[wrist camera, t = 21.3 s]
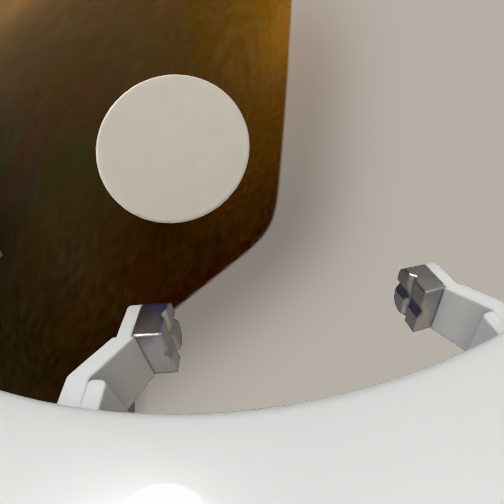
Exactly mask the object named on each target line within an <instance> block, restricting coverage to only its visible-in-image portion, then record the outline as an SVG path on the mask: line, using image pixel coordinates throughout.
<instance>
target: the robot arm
mask: <svg viewBox="0 0 504 504" xmlns="http://www.w3.org/2000/svg"><path fill="white" fill-rule="evenodd" d="M398 280H399V282H400V284H399V285H398V286H397V287H396V289H395V295H394V298H395V304H396V307H397V309H398V311H399V312H400V313H402V314H404V315H406V318H405V321H406V322H407V324H408V325H409V327H410V328H411V330H412V331H413V332H415V331H418V330H422V329H426V328H429V327H431V329H433V330H434V331H436V332H437V333H439V334H440V335H442V336H443V337H445V338H447V339H448V340H449V341H451V342H452V343H454V344H456V345H457V346H458V347H460V348H461V349H463V350H464V351H465V352H463V353H461V354H459V355H456V356H454V357H451V358H449V359H447V360H444V361H442V362H440V363H437V364H435V365H432V366H429V367H427V368H424V369H422V370H419V371H416V372H413V373H410V374H408V375H405V376H402V377H399V378H396V379H393V380H390V381H386V382H383V383H380V384H377V385H373V386H370V387H367V388H363V389H359V390H355V391H352V392H347V393H343V394H339V395H335V396H331V397H326V398H322V399H317V400H312V401H306V402H301V403H295V404H289V405H283V406H276V407H269V408H261V409H253V410H244V411H233V412H218V413H199V414H143V413H130V412H129V411H128V409H129V408H130V406H131V405H132V404H133V402H134V401H135V400H136V399H137V397H138V396H139V395H140V393H141V392H142V391H143V389H144V388H145V387H146V386H147V384H148V383H149V382H150V381H151V379H152V378H153V377H154V375H155V373H173V372H178V368H179V360H180V356H179V354H178V352H177V351H178V350H179V349H180V348H181V345H182V333H181V329H180V325H179V322H178V321H177V320H175V319H174V314H175V311H174V308H173V306H172V304H171V303H159V304H144V305H132V306H129V307H128V309H127V311H126V314H125V316H124V319H123V321H122V324H121V327H120V329H119V332H118V335H117V337H116V338H112V339H111V340H109V341H108V342H107V343H106V344H105V345H104V346H102V347H101V348H100V349H99V350H98V351H96V352H95V353H94V354H93V355H92V356H91V357H89V358H88V359H87V360H86V361H85V362H84V363H82V364H81V365H80V366H79V367H78V368H77V369H75V370H74V371H73V372H72V373H71V374H70V375H68V376H67V379H66V381H65V384H64V386H63V389H62V392H61V394H60V397H59V400H58V402H57V404H55V403H49V402H44V401H40V400H35V399H31V398H27V397H23V396H19V395H15V394H11V393H8V392H4V391H1V390H0V504H504V302H502V301H499V300H497V299H495V298H492V297H490V296H488V295H485V294H483V293H481V292H478V291H476V290H474V289H471V288H469V287H466V286H464V285H462V284H456V283H455V282H454V281H453V280H452V279H451V278H450V277H449V276H448V275H447V274H446V273H445V272H444V271H443V270H442V269H441V268H440V267H439V266H438V265H437V264H436V263H434V262H431V263H426V264H423V265H419V266H415V267H410V268H405V269H401V270H400V272H399V275H398Z"/></svg>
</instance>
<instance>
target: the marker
mask: <svg viewBox="0 0 504 504" xmlns="http://www.w3.org/2000/svg"><path fill="white" fill-rule="evenodd" d="M248 157H249V136H248V130H247V126H246V123H245V120H244V118H243V116H242V114H241V112H240V110H239V109H238V107H237V106H236V104H235V103H234V102H233V100H232V99H231V98H230V97H229V96H228V95H227V94H226V93H225V92H223V91H222V90H221V89H219V88H218V87H217V86H215V85H213V84H211V83H209V82H207V81H205V80H202V79H200V78H197V77H192V76H187V75H165V76H158V77H155V78H151V79H148V80H146V81H144V82H141V83H139V84H137V85H136V86H134V87H132V88H131V89H129V90H128V91H127V92H125V93H124V94H123V95H122V96H121V97H120V98H119V99H118V100H117V101H116V102H115V103H114V104H113V105H112V107H111V108H110V109H109V111H108V113H107V114H106V116H105V118H104V120H103V122H102V124H101V127H100V130H99V133H98V137H97V144H96V160H97V167H98V170H99V174H100V177H101V179H102V181H103V184H104V186H105V187H106V189H107V190H108V192H109V193H110V195H111V196H112V197H113V198H114V199H115V201H116V202H117V203H119V204H120V205H121V206H122V207H123V208H124V209H126V210H128V211H129V212H131V213H132V214H134V215H136V216H139V217H141V218H143V219H146V220H150V221H154V222H160V223H179V222H185V221H190V220H194V219H196V218H199V217H202V216H204V215H206V214H208V213H210V212H212V211H213V210H214V209H216V208H217V207H219V206H220V205H221V204H222V203H224V202H225V201H226V200H227V199H228V198H229V197H230V195H231V194H232V193H233V192H234V191H235V189H236V188H237V186H238V185H239V183H240V181H241V179H242V177H243V175H244V172H245V169H246V166H247V162H248Z"/></svg>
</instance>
